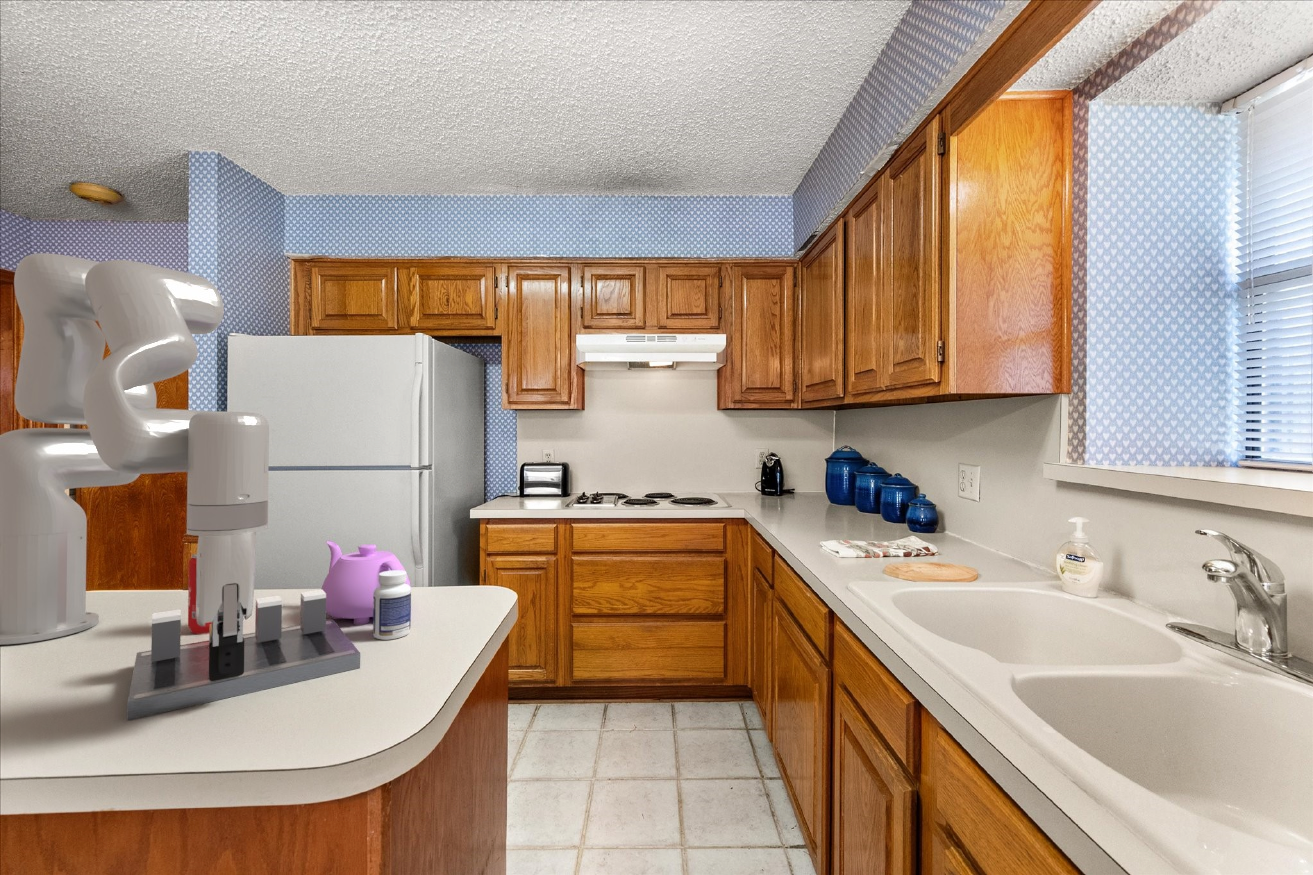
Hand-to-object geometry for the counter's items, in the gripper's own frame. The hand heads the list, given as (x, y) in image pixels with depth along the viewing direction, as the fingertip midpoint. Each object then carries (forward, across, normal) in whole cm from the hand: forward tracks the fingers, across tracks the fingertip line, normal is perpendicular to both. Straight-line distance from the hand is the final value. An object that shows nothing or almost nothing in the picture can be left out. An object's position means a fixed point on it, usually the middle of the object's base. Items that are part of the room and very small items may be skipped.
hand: (226, 675), depth 66 cm
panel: (+3, -11, +3) cm, 11 cm away
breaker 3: (+1, -15, +11) cm, 18 cm away
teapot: (+4, -27, +20) cm, 34 cm away
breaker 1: (+1, -15, -6) cm, 16 cm away
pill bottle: (+4, -13, +22) cm, 25 cm away
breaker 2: (+1, -15, +6) cm, 16 cm away
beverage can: (+3, -33, 0) cm, 33 cm away
